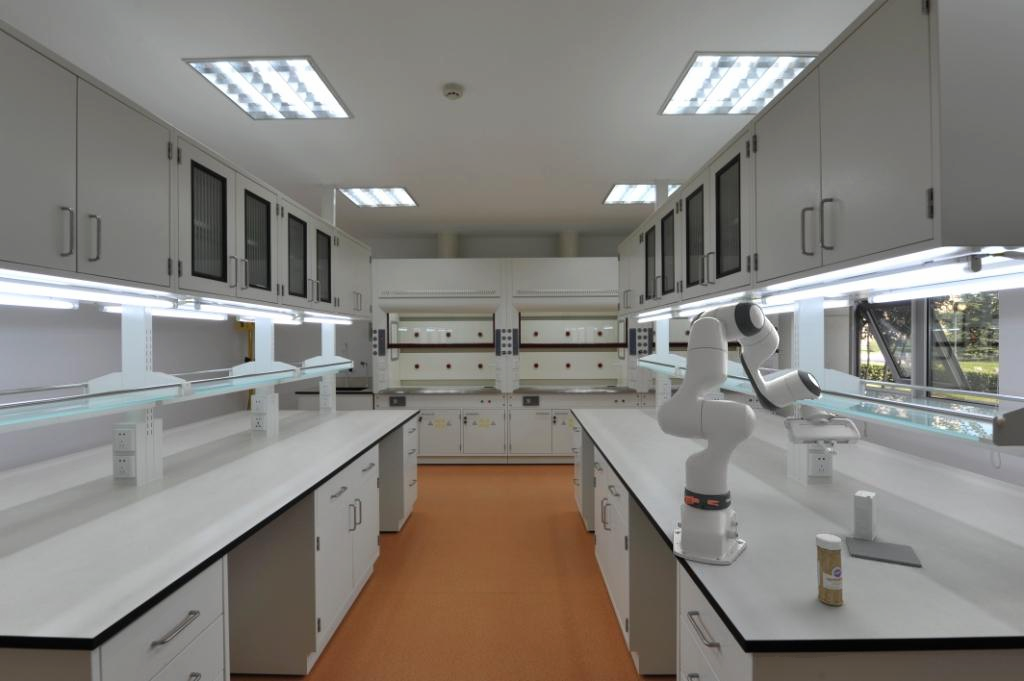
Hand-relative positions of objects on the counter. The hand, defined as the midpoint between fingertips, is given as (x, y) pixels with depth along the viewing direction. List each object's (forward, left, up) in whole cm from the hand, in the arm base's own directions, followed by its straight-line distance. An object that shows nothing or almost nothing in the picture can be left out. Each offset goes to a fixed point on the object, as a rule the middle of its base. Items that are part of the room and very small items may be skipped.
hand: (831, 454), depth 152 cm
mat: (-27, -8, -19) cm, 34 cm away
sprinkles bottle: (-60, +5, -19) cm, 63 cm away
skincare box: (-17, -6, -19) cm, 26 cm away
